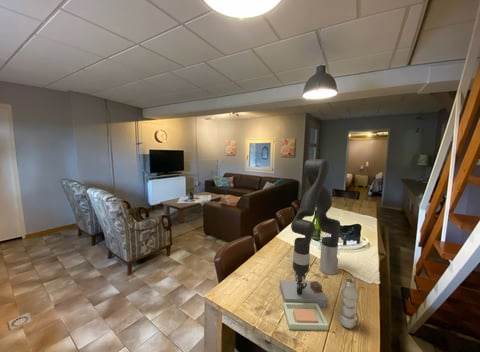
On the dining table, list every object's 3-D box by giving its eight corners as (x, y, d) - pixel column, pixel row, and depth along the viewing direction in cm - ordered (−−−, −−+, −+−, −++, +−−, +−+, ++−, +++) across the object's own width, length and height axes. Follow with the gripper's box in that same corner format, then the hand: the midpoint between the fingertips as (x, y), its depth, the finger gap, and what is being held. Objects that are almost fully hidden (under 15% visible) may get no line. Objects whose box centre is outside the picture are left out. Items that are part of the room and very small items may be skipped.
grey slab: (316, 287, 108) (316, 280, 108) (327, 307, 94) (327, 299, 94) (279, 286, 108) (279, 280, 108) (285, 306, 94) (285, 298, 94)
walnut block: (316, 286, 103) (317, 281, 103) (321, 291, 99) (322, 286, 99) (310, 287, 102) (310, 282, 102) (314, 292, 98) (315, 287, 98)
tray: (317, 308, 94) (317, 303, 93) (327, 330, 82) (328, 325, 81) (283, 307, 94) (283, 302, 93) (289, 329, 82) (289, 324, 82)
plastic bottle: (338, 328, 83) (342, 283, 81) (337, 315, 89) (340, 274, 87) (356, 333, 81) (360, 287, 78) (353, 320, 87) (357, 278, 85)
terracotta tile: (318, 320, 82) (318, 327, 83) (313, 309, 88) (312, 315, 89) (296, 320, 82) (296, 326, 83) (293, 308, 88) (292, 315, 89)
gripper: (314, 268, 88) (311, 303, 90) (304, 253, 101) (302, 284, 104) (297, 268, 88) (295, 303, 90) (289, 253, 101) (288, 284, 103)
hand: (299, 293), depth 97 cm, fingers closed
